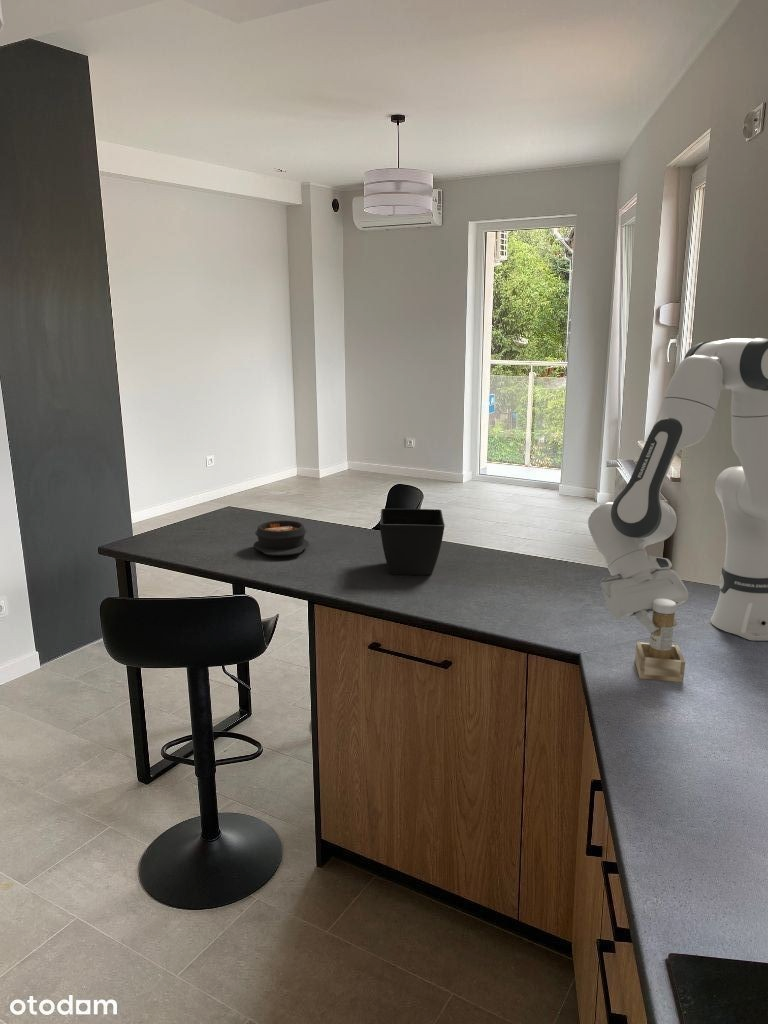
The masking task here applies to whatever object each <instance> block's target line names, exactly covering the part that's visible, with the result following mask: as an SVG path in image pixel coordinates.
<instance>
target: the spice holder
mask: <svg viewBox="0 0 768 1024" xmlns="http://www.w3.org/2000/svg"><path fill="white" fill-rule="evenodd" d="M649 649H650V642H640V641H636V645H635V652H634V653H635V655H634V663H635V666H636V667H635V668H636V670H637V674H638V678H639V679H643V680H654V681H666V682H674V683H675V682H676V683H684V678H685V669H686V660H685V658H684V655H683V654H682V651H681V648H680V647H679V645H678V644H672V646H671V652H670V659H660V658H649V657H648V656H649Z"/></svg>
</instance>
